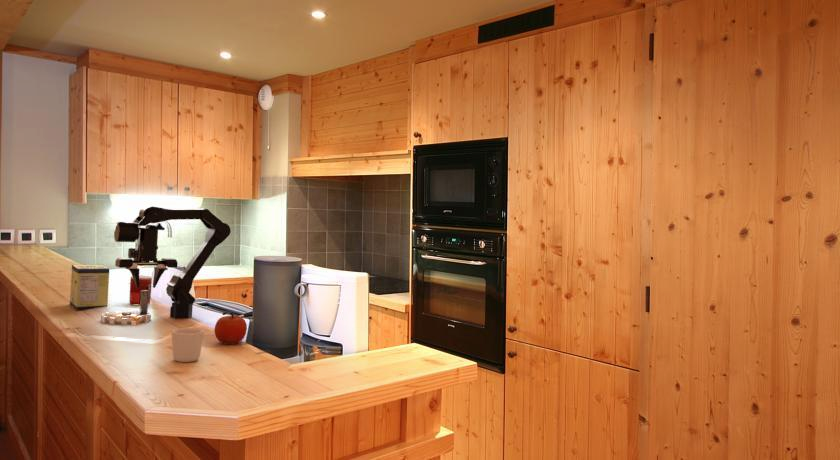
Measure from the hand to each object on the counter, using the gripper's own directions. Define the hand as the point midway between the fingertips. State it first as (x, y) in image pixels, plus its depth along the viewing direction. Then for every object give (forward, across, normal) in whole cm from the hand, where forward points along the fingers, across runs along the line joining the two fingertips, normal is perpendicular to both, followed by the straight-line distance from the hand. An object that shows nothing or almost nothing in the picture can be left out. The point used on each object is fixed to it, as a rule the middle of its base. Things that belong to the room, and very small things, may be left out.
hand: (145, 287), depth 200 cm
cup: (+12, +4, +54) cm, 55 cm away
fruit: (+12, -13, +40) cm, 44 cm away
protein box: (+12, +9, -38) cm, 41 cm away
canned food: (+12, -10, -40) cm, 43 cm away
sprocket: (+11, +6, 0) cm, 12 cm away
